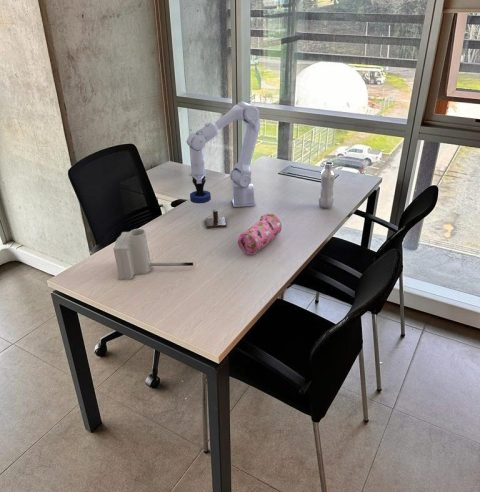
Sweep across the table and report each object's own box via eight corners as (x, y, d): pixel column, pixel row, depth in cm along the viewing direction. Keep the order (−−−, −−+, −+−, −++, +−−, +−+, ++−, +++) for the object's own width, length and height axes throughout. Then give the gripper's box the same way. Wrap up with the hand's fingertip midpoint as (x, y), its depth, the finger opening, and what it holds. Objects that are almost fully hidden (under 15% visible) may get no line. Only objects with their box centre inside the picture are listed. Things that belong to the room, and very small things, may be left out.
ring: (210, 194, 200) (209, 189, 199) (211, 202, 193) (210, 197, 191) (190, 196, 199) (189, 191, 198) (190, 204, 192) (190, 198, 191)
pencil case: (262, 230, 186) (262, 210, 181) (282, 234, 182) (283, 214, 177) (236, 253, 170) (235, 232, 166) (257, 259, 166) (257, 237, 162)
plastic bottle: (316, 208, 202) (319, 164, 192) (320, 202, 208) (323, 160, 197) (331, 210, 200) (334, 166, 190) (334, 204, 205) (338, 161, 195)
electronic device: (126, 261, 168) (119, 224, 160) (195, 260, 167) (192, 223, 159) (117, 279, 158) (109, 241, 150) (191, 278, 157) (187, 240, 149)
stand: (224, 218, 196) (223, 206, 193) (226, 227, 190) (225, 213, 186) (206, 220, 196) (205, 207, 193) (207, 228, 189) (205, 215, 186)
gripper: (187, 158, 197) (190, 187, 204) (188, 169, 184) (191, 200, 192) (204, 157, 197) (206, 186, 204) (205, 168, 185) (207, 199, 192)
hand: (200, 193), depth 198 cm, fingers closed on ring, 2 cm apart
